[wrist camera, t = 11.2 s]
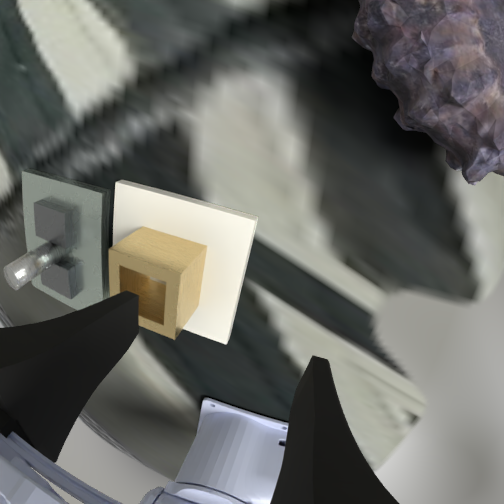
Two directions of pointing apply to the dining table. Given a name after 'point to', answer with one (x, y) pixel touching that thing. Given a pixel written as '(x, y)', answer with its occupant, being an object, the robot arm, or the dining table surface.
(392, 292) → the dining table surface
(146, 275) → the tan hollow boxy piece
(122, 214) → the board
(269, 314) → the dining table surface
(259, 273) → the dining table surface
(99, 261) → the grey plate with post
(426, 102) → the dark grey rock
